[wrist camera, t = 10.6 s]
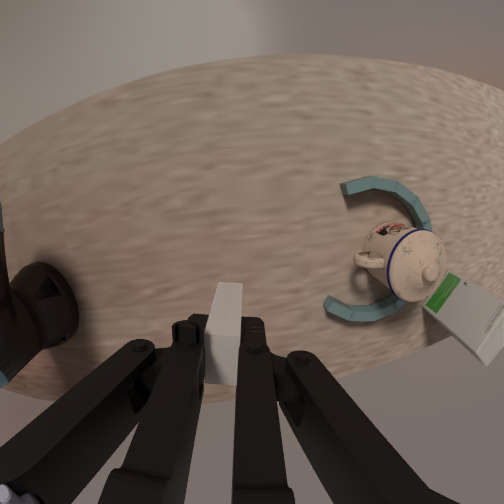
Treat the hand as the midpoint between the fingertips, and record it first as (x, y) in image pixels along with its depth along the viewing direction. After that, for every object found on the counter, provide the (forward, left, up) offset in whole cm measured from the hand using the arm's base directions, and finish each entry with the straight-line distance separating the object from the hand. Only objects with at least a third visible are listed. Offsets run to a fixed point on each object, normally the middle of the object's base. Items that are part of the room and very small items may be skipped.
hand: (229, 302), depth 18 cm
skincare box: (+35, -6, -20) cm, 41 cm away
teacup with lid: (+20, +1, -20) cm, 28 cm away
